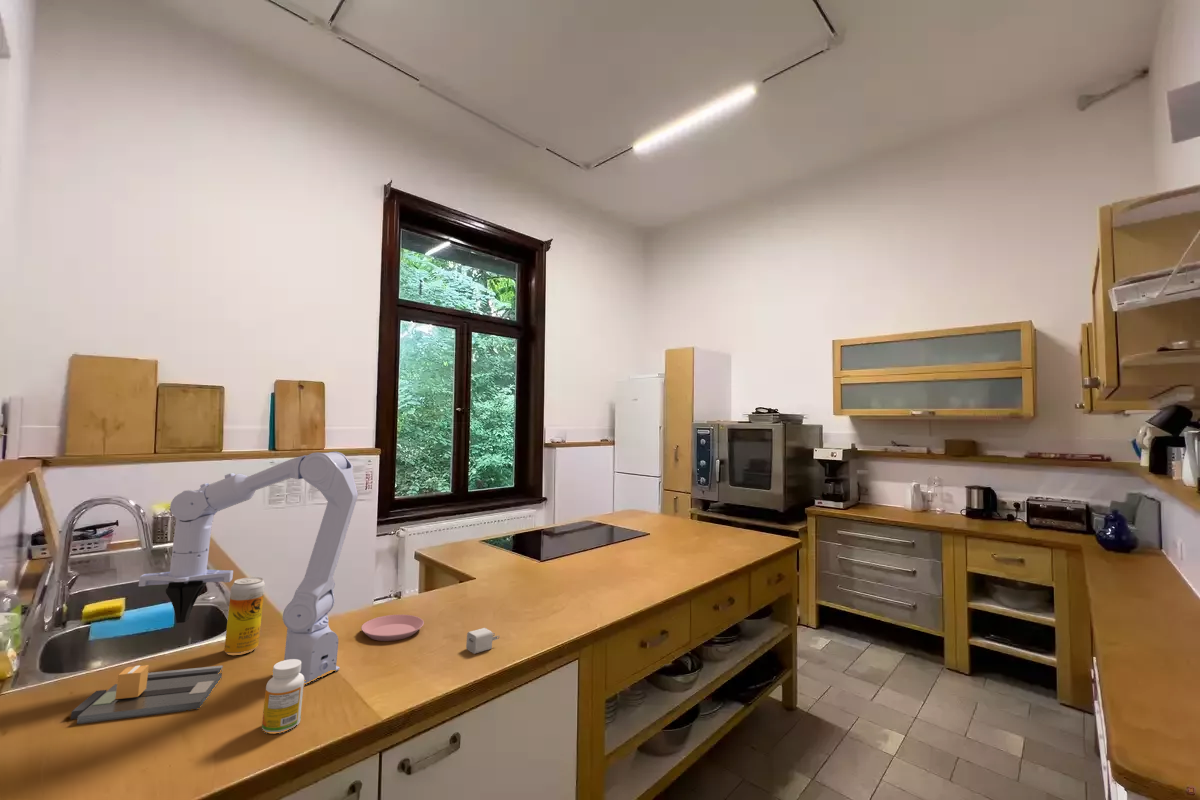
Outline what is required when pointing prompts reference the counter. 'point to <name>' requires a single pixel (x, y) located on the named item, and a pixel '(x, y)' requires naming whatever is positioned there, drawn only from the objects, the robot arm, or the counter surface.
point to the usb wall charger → (480, 640)
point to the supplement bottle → (283, 697)
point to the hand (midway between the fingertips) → (182, 621)
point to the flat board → (151, 676)
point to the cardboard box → (132, 682)
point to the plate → (392, 627)
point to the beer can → (244, 615)
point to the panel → (152, 699)
